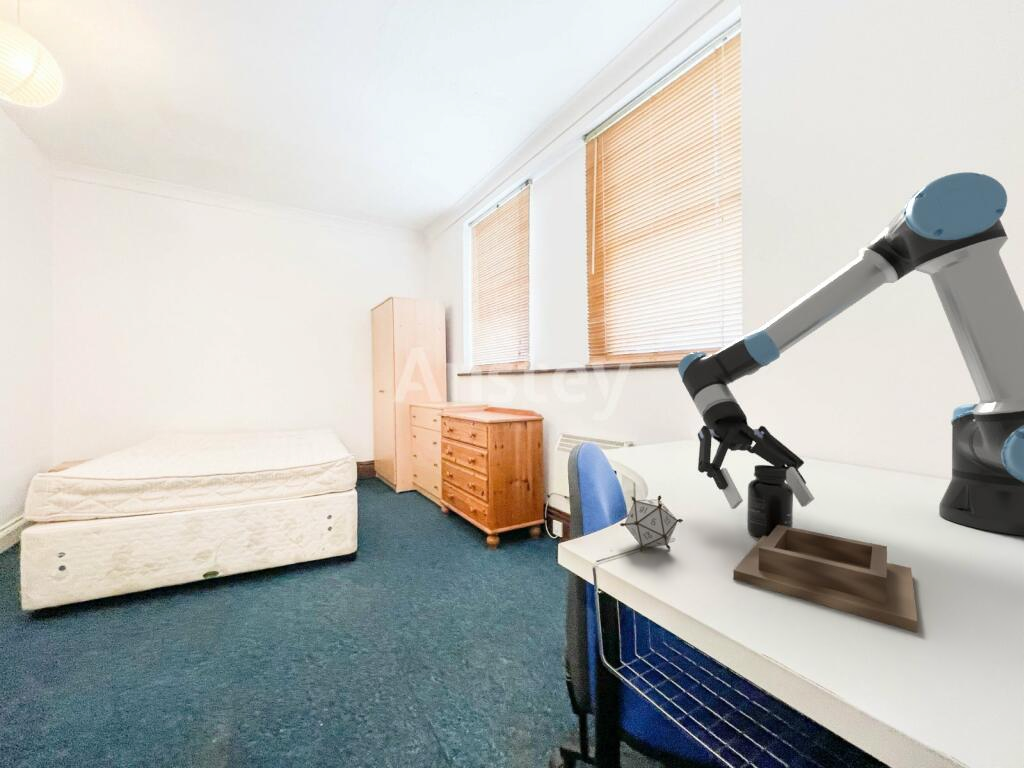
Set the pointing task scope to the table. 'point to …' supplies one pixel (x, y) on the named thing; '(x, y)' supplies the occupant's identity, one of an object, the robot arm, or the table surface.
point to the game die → (650, 523)
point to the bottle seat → (832, 574)
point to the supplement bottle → (769, 501)
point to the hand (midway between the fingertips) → (773, 504)
